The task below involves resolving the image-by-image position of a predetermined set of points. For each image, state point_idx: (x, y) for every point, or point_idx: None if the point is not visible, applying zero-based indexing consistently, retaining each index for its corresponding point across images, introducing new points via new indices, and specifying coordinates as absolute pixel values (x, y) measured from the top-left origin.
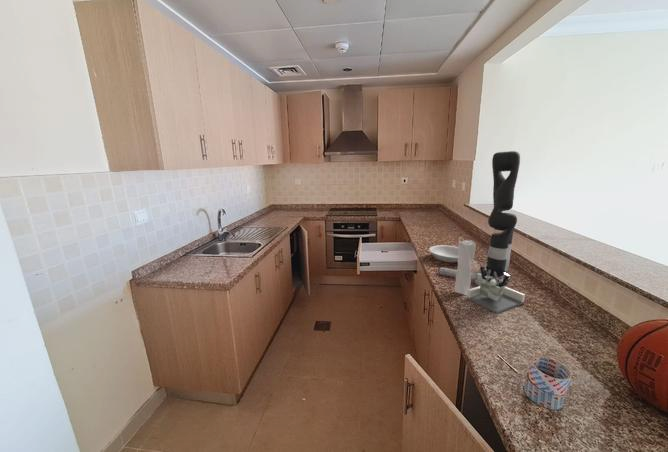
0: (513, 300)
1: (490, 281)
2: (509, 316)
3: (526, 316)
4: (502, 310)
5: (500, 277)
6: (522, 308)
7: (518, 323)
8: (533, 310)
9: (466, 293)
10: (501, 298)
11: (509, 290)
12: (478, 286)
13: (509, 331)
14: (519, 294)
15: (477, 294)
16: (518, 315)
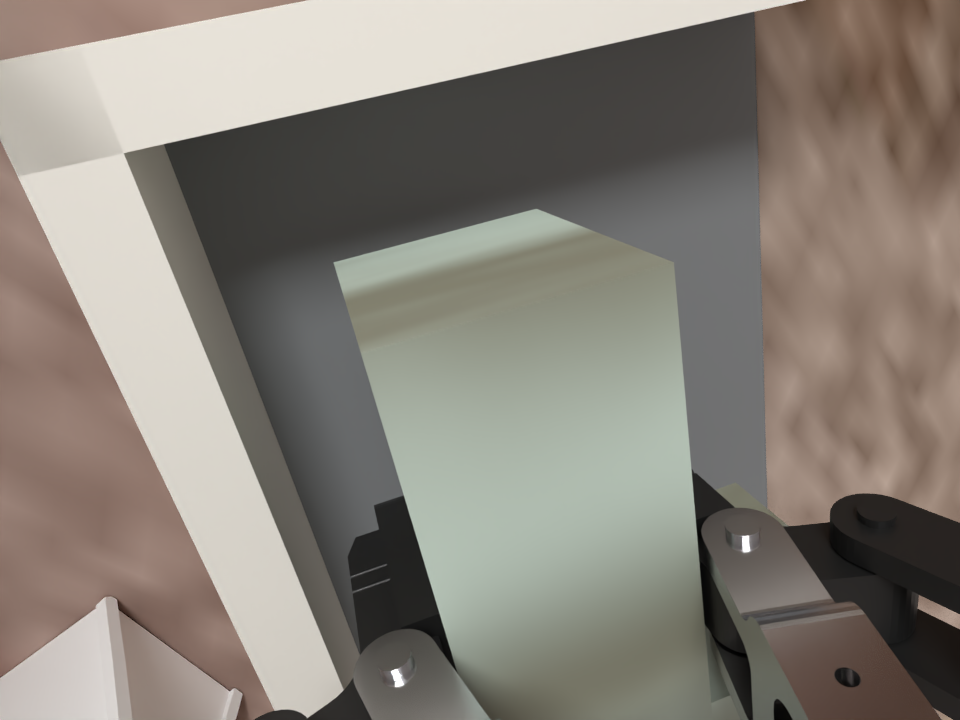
0: (656, 118)
1: (519, 700)
2: (835, 463)
3: (925, 267)
4: (761, 490)
5: (836, 688)
6: (804, 136)
7: (942, 463)
8: (905, 12)
9: (202, 685)
10: (743, 496)
11: (559, 52)
12: (253, 657)
13: (955, 614)
14: (785, 3)
15: (338, 606)
16: (870, 346)
